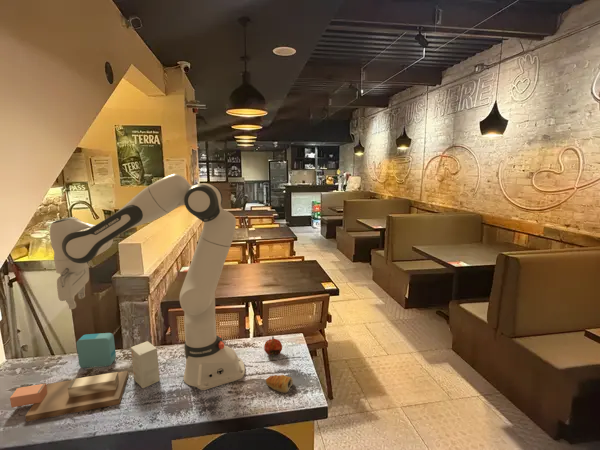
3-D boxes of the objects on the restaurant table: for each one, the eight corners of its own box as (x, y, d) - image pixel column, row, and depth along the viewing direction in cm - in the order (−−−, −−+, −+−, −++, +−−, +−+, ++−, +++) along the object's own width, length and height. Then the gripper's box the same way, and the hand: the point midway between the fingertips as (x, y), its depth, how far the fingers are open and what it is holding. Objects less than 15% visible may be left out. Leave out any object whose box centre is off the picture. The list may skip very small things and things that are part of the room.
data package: (116, 359, 137) (113, 332, 135) (112, 366, 133) (108, 338, 131) (85, 361, 136) (81, 334, 134) (79, 368, 131) (75, 340, 129)
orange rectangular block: (47, 392, 114) (45, 383, 114) (41, 402, 110) (39, 392, 109) (19, 397, 112) (17, 387, 111) (11, 407, 107) (9, 397, 107)
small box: (160, 380, 123) (157, 348, 121) (142, 389, 119) (139, 355, 117) (150, 371, 129) (147, 340, 127) (133, 379, 124) (130, 347, 122)
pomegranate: (282, 363, 137) (285, 339, 144) (278, 356, 132) (281, 332, 139) (265, 363, 139) (268, 340, 145) (260, 356, 133) (263, 332, 140)
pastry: (262, 388, 119) (262, 379, 118) (270, 377, 125) (270, 368, 124) (287, 394, 116) (287, 384, 115) (294, 383, 122) (294, 373, 121)
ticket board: (128, 375, 127) (127, 362, 126) (119, 404, 111) (117, 388, 110) (47, 389, 119) (45, 374, 118) (26, 421, 104) (23, 405, 103)
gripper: (71, 272, 106) (78, 313, 109) (90, 256, 125) (95, 291, 128) (48, 275, 104) (55, 317, 107) (70, 258, 124) (76, 294, 126)
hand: (77, 302), depth 118 cm, fingers open, 8 cm apart
